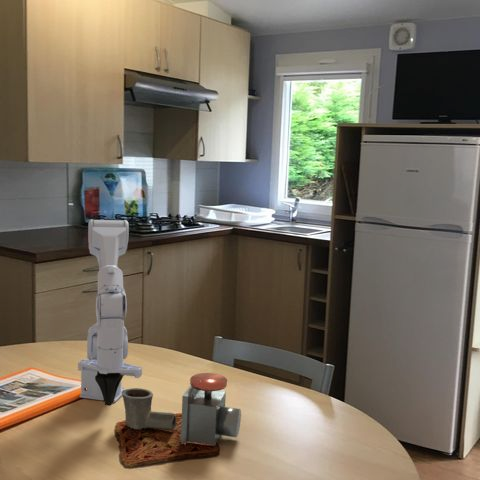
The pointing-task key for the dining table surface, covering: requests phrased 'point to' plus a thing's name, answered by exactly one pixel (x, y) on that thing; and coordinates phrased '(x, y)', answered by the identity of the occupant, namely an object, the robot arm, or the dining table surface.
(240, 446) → the dining table surface
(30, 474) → the dining table surface
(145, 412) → the pipe
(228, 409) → the valve
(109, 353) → the robot arm
